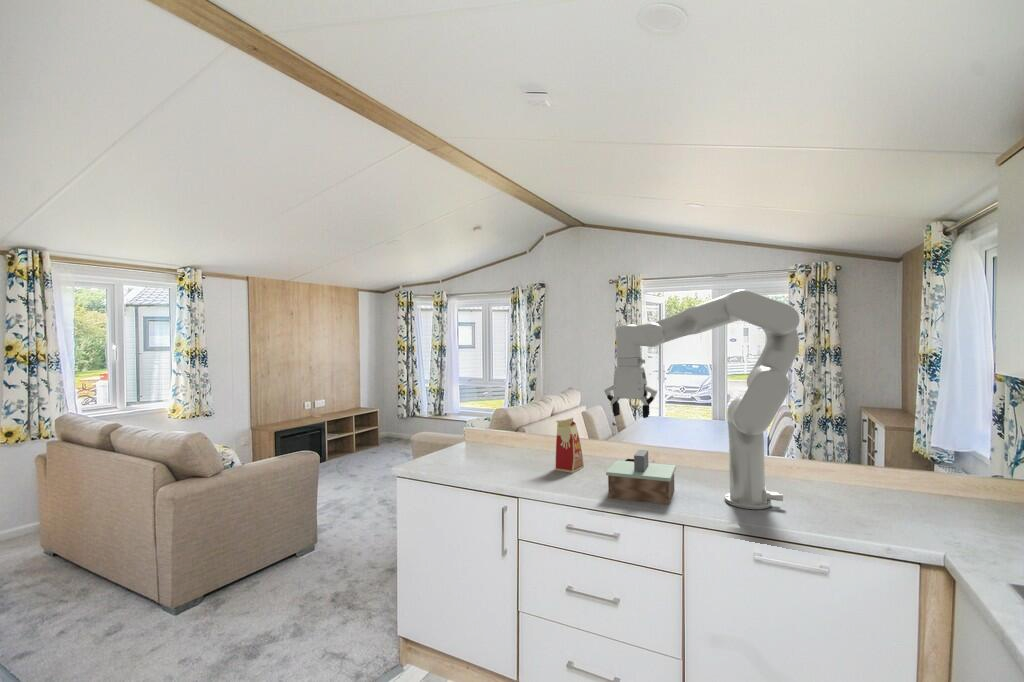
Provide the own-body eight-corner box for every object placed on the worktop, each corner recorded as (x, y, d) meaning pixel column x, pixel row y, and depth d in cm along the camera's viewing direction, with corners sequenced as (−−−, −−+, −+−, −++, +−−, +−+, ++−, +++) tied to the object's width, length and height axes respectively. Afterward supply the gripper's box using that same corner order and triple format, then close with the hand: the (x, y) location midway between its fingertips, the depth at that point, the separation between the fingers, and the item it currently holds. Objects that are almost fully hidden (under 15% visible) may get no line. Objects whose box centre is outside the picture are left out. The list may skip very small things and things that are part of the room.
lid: (675, 471, 154) (675, 449, 154) (670, 485, 140) (669, 461, 140) (616, 466, 162) (616, 445, 162) (606, 478, 148) (605, 455, 148)
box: (674, 493, 154) (674, 468, 154) (669, 508, 141) (668, 481, 141) (618, 487, 161) (618, 463, 161) (608, 500, 148) (608, 474, 148)
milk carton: (583, 467, 187) (582, 416, 187) (573, 473, 179) (572, 420, 179) (562, 464, 192) (561, 414, 192) (552, 470, 184) (550, 418, 184)
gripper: (659, 362, 151) (661, 416, 151) (608, 362, 161) (610, 413, 161) (651, 363, 145) (653, 420, 145) (599, 364, 155) (601, 416, 155)
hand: (630, 416), depth 153 cm, fingers open, 9 cm apart
